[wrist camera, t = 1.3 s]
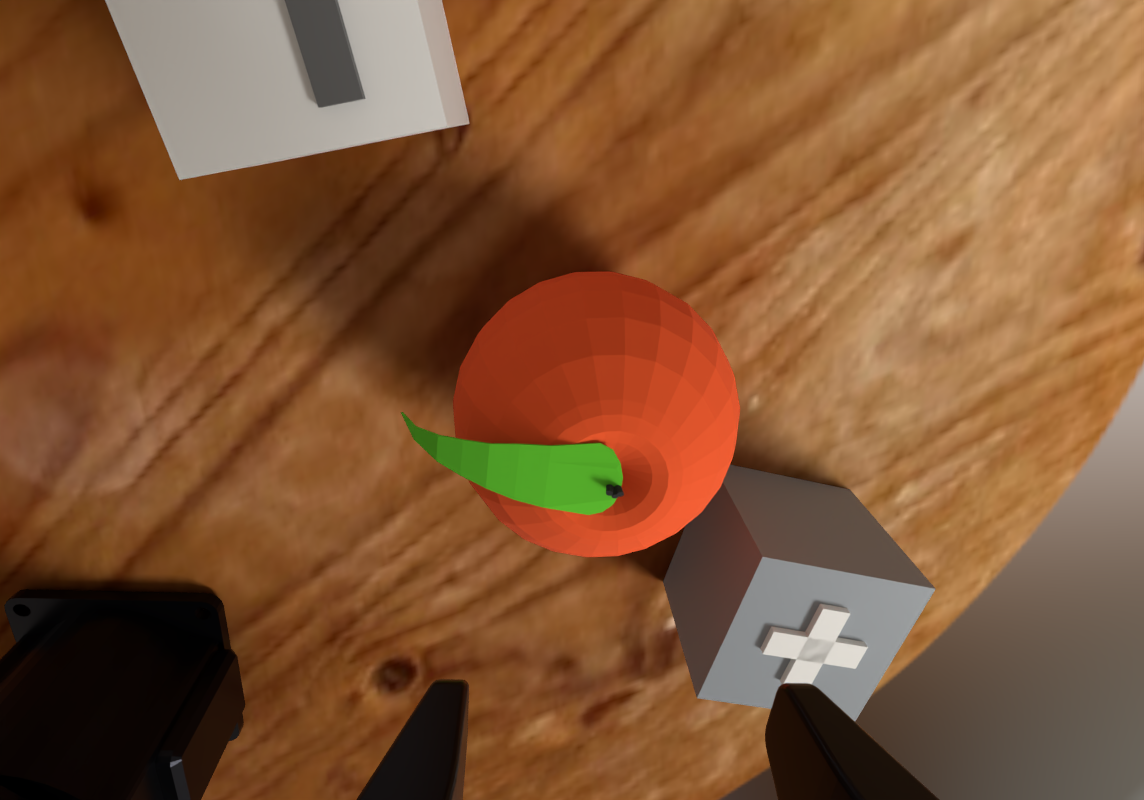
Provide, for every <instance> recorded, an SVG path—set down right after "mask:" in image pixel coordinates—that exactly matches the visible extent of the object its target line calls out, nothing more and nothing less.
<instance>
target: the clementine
mask: <svg viewBox="0 0 1144 800" xmlns="http://www.w3.org/2000/svg"><path fill="white" fill-rule="evenodd" d="M453 409H454V422H455V434H456V438H454V437H448V436H442V435H438V434H435V433H433V432H430V431H427V430H425V429H422V428H419V427H417V426H415V425H414V424H413V422H412V421H411V420H410V419H409V418H408V417H407V416H406V415H405V414H404V413H403V412H401V414H402V416H403V418H404V420H405V422H406V424H407V426H408V428H409V430H410V432H411V434H412V437H413V439H414V440H415V441H416V442H417V443H418V444H419V445H420V446H421V447H422V448H423V449H425V450H426V451H427V452H428V453H429V454H430V455H431V456H432V457H433V458H434V459H435V460H436V461H437V462H439V463H441V464H442V465H444V466H446V467H447V468H449V469H451V470H452V471H454V472H456V473H457V474H459V475H461V476H463V477H464V478H466V479H468V480H469V482H470V484H471V485H472V486H473V488H474V489H475V490H476V492H477V493H478V494H479V495H480V497H481V498H482V499H483V501H484V502H485V503H486V504H487V506H488V507H489V508H490V510H491V511H492V512H493V513H494V515H495V516H496V517H497V518H498V520H499V521H501V522H502V523H503V524H505V525H506V526H507V527H508V528H510V529H511V530H512V531H514V532H515V533H516V534H518V535H519V536H520V537H522V538H523V539H525V540H527V541H530V542H532V543H534V544H537V545H539V546H541V547H544V548H546V549H548V550H551V551H554V552H559V553H565V554H571V555H577V556H582V557H605V556H620V555H624V554H628V553H631V552H635V551H639V550H643V549H646V548H648V547H650V546H652V545H654V544H656V543H658V542H660V541H662V540H664V539H666V538H668V537H670V536H672V535H674V534H675V533H677V532H678V531H680V530H681V529H682V528H683V527H684V526H686V525H687V524H688V523H689V522H690V521H692V520H693V519H694V518H695V517H697V516H698V515H699V514H700V513H701V512H702V511H703V510H704V509H705V507H706V506H707V505H708V503H709V502H710V501H711V499H712V498H713V497H714V495H715V494H716V493H717V491H718V490H719V489H720V487H721V485H722V483H723V480H724V478H725V475H726V473H727V471H728V468H729V466H730V463H731V461H732V458H733V454H734V450H735V445H736V440H737V431H738V423H739V414H740V406H739V400H738V394H737V388H736V383H735V377H734V374H733V371H732V369H731V367H730V364H729V362H728V359H727V357H726V356H725V354H724V352H723V350H722V348H721V346H720V344H719V342H718V340H717V338H716V336H715V334H714V332H713V330H712V329H711V328H710V327H709V326H708V324H707V323H706V322H705V321H704V320H703V319H702V318H701V317H700V316H699V315H698V314H697V313H696V312H695V311H694V310H693V309H692V308H691V307H690V306H689V305H688V304H687V303H686V302H684V301H682V300H680V299H679V298H677V297H675V296H673V295H672V294H670V293H668V292H667V291H665V290H663V289H661V288H660V287H658V286H656V285H654V284H652V283H650V282H648V281H646V280H643V279H639V278H635V277H631V276H627V275H623V274H619V273H615V272H611V271H610V272H573V273H570V274H566V275H563V276H559V277H556V278H552V279H549V280H545V281H542V282H539V283H537V284H535V285H534V286H532V287H530V288H529V289H527V290H525V291H524V292H522V293H520V294H519V295H517V296H515V297H514V298H512V299H510V300H509V301H507V303H506V304H505V305H504V306H503V307H502V308H501V309H500V310H499V311H498V312H497V313H496V314H495V315H494V316H493V317H492V318H491V319H490V320H489V321H488V322H487V323H486V324H485V325H484V326H483V328H482V329H481V331H480V332H479V333H478V335H477V336H476V338H475V340H474V342H473V344H472V346H471V348H470V349H469V351H468V353H467V355H466V357H465V359H464V361H463V362H462V364H461V366H460V370H459V375H458V379H457V384H456V389H455V394H454V399H453Z"/></svg>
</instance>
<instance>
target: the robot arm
mask: <svg viewBox="0 0 1144 800" xmlns="http://www.w3.org/2000/svg"><path fill="white" fill-rule="evenodd" d="M201 607H202V608H206V609H207V610H209V611H206V610H204V609H202V608H201ZM5 611H6V614H7V617H8V620H9V623H10V626H11V629H12V632H13V634H14V637H15V640H16V644H15V645H14V646H13V647H12V648H11V649H10V650H9V651H8V652H7V653H6V654H5V655H4V656H3V657H2V659H1V660H0V800H201V798H202V796H203V794H204V792H205V790H206V788H207V786H208V783H209V781H210V779H211V777H212V775H213V773H214V771H215V769H216V767H217V764H218V762H219V760H220V758H221V756H222V754H223V752H224V750H225V748H226V745H227V743H228V741H232V740H234V739H236V738H237V737H238V736H239V734H240V732H241V729H242V727H243V723H244V721H243V716H242V712H243V710H244V707H245V700H244V694H243V688H242V682H241V676H240V671H239V665H238V659H237V655H236V654H235V652H234V651H233V650H232V649H231V646H230V640H229V634H228V628H227V622H226V617H225V611H224V605H223V603H222V601H221V600H220V599H219V598H218V597H217V596H215V595H212V594H207V593H171V592H124V591H76V590H29V589H26V590H20V591H18V592H17V593H15V594H14V595H13V596H12V597H11V598H10V599H9V600H8V601H7V602H6V604H5ZM468 703H469V685H468V683H467V682H466V681H465V680H445V679H440V680H436V681H434V682H433V683H432V684H431V686H430V687H429V688H428V690H427V691H426V693H425V695H424V696H423V698H422V699H421V701H420V702H419V704H418V705H417V707H416V708H415V710H414V712H413V713H412V715H411V716H410V718H409V719H408V721H407V722H406V724H405V726H404V727H403V729H402V730H401V732H400V733H399V735H398V736H397V738H396V739H395V741H394V743H393V744H392V746H391V747H390V749H389V750H388V752H387V753H386V755H385V756H384V758H383V760H382V761H381V763H380V764H379V766H378V767H377V769H376V770H375V772H374V773H373V775H372V777H371V778H370V780H369V781H368V783H367V784H366V786H365V787H364V789H363V790H362V792H361V794H360V795H359V797H358V798H357V800H463V787H464V774H465V762H466V749H467V734H468ZM765 742H766V749H767V754H768V758H769V762H770V767H771V771H772V775H773V780H774V784H775V788H776V792H777V797H778V800H939V799H938V798H937V797H936V796H935V795H934V794H933V793H931V791H930V790H929V789H928V788H926V787H925V786H924V785H923V784H922V783H921V782H920V781H919V780H918V779H917V778H915V776H913V775H912V774H911V773H910V772H909V771H908V770H907V769H906V768H905V767H904V766H902V765H901V764H900V763H899V762H898V761H897V760H896V759H895V758H894V757H893V756H892V755H891V754H890V753H888V752H887V751H886V750H885V749H884V748H883V747H882V746H881V745H880V744H878V743H877V742H876V741H875V740H874V739H873V738H872V737H871V736H870V735H869V734H868V733H867V732H866V731H865V730H863V729H862V728H861V727H860V726H859V725H858V724H857V723H856V722H855V721H854V720H853V719H851V718H850V717H849V716H848V715H847V714H846V713H845V712H844V711H843V710H842V709H841V708H840V707H838V706H837V705H836V704H835V703H834V702H833V701H832V700H831V699H830V698H829V697H828V696H826V695H825V694H824V693H823V692H822V691H821V690H820V689H819V688H817V687H816V686H814V685H812V684H809V683H784V684H782V685H780V686H779V687H778V689H777V692H776V695H775V698H774V702H773V705H772V708H771V712H770V715H769V719H768V722H767V725H766V731H765Z"/></svg>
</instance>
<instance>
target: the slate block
mask: <svg viewBox="0 0 1144 800" xmlns="http://www.w3.org/2000/svg"><path fill="white" fill-rule="evenodd" d="M663 583H664V586H665V590H666V593H667V597H668V600H669V604H670V607H671V610H672V614H673V617H674V621H675V624H676V628H677V631H678V634H679V638H680V641H681V645H682V648H683V652H684V655H685V658H686V662H687V665H688V669H689V672H690V676H691V679H692V682H693V686H694V689H695V693H696V696H697V698H700V699H707V700H714V701H721V702H728V703H735V704H742V705H749V706H756V707H763V708H770V709H771V708H772V705H773V702H774V698H775V695H776V692H777V689H778V687H779V686H780V685H782V684H784V683H809V684H812V685H814V686H816V687H817V688H819V689H820V690H821V691H822V692H823V693H824V694H825V695H826V696H828V697H829V698H830V699H831V700H832V701H833V702H834V703H835V704H836V705H837V706H838V707H840V708H841V709H842V710H843V711H844V712H845V713H846V714H847V715H848V716H849V717H850V718H851V719H853V720H854V721H856V719H857V717H858V716H859V714H860V712H861V711H862V709H863V707H864V706H865V704H866V703H867V701H868V699H869V698H870V696H871V694H872V693H873V691H874V689H875V688H876V686H877V684H878V683H879V681H880V680H881V678H882V676H883V675H884V673H885V671H886V670H887V668H888V666H889V665H890V663H891V661H892V660H893V658H894V657H895V655H896V653H897V652H898V650H899V648H900V647H901V645H902V643H903V642H904V640H905V638H906V637H907V635H908V633H909V632H910V630H911V629H912V627H913V625H914V624H915V622H916V620H917V619H918V617H919V615H920V614H921V612H922V610H923V609H924V607H925V605H926V604H927V602H928V601H929V599H930V597H931V596H932V594H933V592H934V591H935V588H934V586H933V585H932V584H931V583H930V582H929V581H928V580H927V578H926V577H925V576H924V575H923V574H922V573H921V571H920V570H919V569H918V568H917V567H916V566H915V564H914V563H913V562H912V561H911V560H910V559H909V558H908V556H907V555H906V554H905V553H904V552H903V551H902V549H901V548H900V547H899V546H898V545H897V544H896V542H895V541H894V540H893V539H892V538H891V537H890V535H889V534H888V533H887V532H886V531H885V530H884V529H883V527H882V526H881V525H880V524H879V523H878V522H877V520H876V519H875V518H874V517H873V516H872V515H871V513H870V512H869V511H868V510H867V509H866V508H865V507H864V505H863V504H862V503H861V502H860V501H859V500H858V498H857V497H856V496H855V495H854V494H853V493H852V491H851V490H850V489H845V488H840V487H835V486H830V485H826V484H821V483H816V482H811V481H806V480H802V479H797V478H792V477H787V476H782V475H778V474H773V473H768V472H763V471H758V470H754V469H749V468H744V467H739V466H735V465H730V466H729V468H728V471H727V473H726V475H725V478H724V480H723V483H722V485H721V487H720V489H719V490H718V491H717V493H716V494H715V495H714V497H713V498H712V499H711V501H710V502H709V503H708V505H707V506H706V507H705V509H704V510H703V511H702V512H701V513H700V514H699V515H698V516H697V517H695V518H694V519H693V520H692V521H690V522H689V523H688V524H687V525H686V526H685V528H684V531H683V533H682V536H681V538H680V541H679V543H678V546H677V548H676V551H675V553H674V556H673V558H672V561H671V563H670V566H669V568H668V571H667V573H666V576H665V578H664V581H663Z"/></svg>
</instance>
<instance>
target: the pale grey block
mask: <svg viewBox="0 0 1144 800" xmlns="http://www.w3.org/2000/svg"><path fill="white" fill-rule="evenodd" d="M105 1H106V4H107V6H108V9H109V11H110V13H111V16H112V18H113V21H114V23H115V26H116V28H117V30H118V33H119V35H120V38H121V40H122V42H123V45H124V47H125V50H126V52H127V54H128V57H129V59H130V62H131V64H132V67H133V69H134V71H135V74H136V76H137V79H138V81H139V83H140V86H141V88H142V91H143V93H144V96H145V98H146V100H147V103H148V105H149V108H150V110H151V112H152V115H153V117H154V120H155V122H156V124H157V127H158V129H159V132H160V134H161V137H162V139H163V141H164V144H165V146H166V149H167V151H168V153H169V156H170V158H171V161H172V163H173V166H174V168H175V170H176V173H177V175H178V178H179V180H182V179H187V178H192V177H198V176H203V175H209V174H214V173H219V172H225V171H230V170H236V169H241V168H246V167H252V166H257V165H263V164H268V163H273V162H279V161H284V160H289V159H294V158H299V157H304V156H309V155H314V154H319V153H324V152H329V151H334V150H339V149H344V148H349V147H355V146H360V145H365V144H370V143H375V142H380V141H385V140H390V139H395V138H400V137H405V136H410V135H415V134H420V133H425V132H430V131H435V130H441V129H446V128H451V127H456V126H461V125H466V124H470V123H469V119H468V114H467V110H466V105H465V101H464V96H463V92H462V88H461V83H460V79H459V74H458V70H457V66H456V61H455V57H454V52H453V48H452V43H451V39H450V35H449V30H448V26H447V21H446V17H445V12H444V8H443V4H442V0H105Z"/></svg>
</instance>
